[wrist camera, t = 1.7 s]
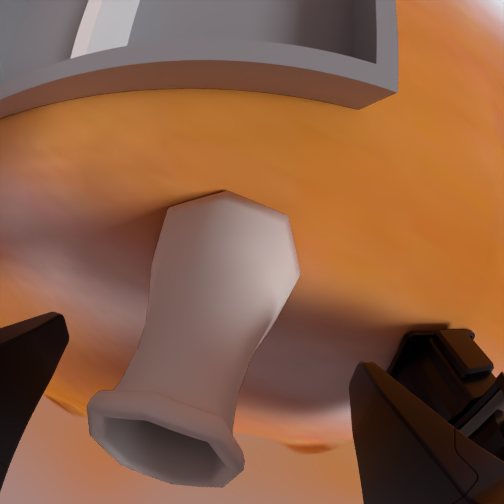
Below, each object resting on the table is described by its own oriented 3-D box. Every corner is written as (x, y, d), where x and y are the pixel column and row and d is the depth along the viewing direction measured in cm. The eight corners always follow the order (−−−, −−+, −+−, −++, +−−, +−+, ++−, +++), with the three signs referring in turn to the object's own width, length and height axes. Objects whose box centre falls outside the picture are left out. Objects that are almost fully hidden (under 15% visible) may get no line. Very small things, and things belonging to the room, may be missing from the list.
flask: (290, 333, 14) (307, 514, 5) (159, 319, 15) (77, 470, 5) (309, 196, 12) (433, 319, 3) (152, 187, 12) (-34, 263, 3)
